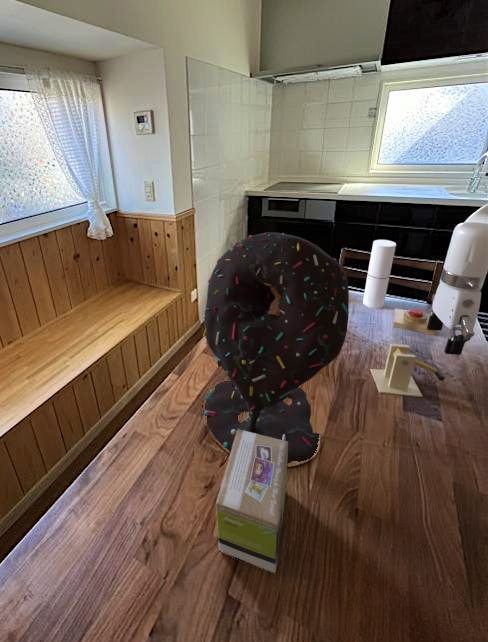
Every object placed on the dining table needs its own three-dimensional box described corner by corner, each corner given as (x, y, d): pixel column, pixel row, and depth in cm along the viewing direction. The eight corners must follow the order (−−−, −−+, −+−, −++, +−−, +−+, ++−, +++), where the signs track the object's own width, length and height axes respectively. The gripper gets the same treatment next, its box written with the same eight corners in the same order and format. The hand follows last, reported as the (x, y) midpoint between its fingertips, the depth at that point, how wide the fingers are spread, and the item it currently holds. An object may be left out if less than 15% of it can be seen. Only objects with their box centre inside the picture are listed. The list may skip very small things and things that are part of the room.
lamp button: (421, 313, 115) (422, 309, 115) (422, 318, 113) (423, 314, 112) (409, 311, 117) (410, 307, 116) (409, 316, 114) (410, 312, 114)
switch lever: (432, 369, 90) (438, 363, 89) (440, 382, 85) (447, 376, 84) (390, 350, 90) (396, 344, 89) (396, 363, 86) (403, 356, 85)
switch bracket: (408, 375, 94) (417, 341, 89) (421, 399, 86) (432, 363, 82) (369, 372, 97) (376, 338, 92) (378, 395, 89) (387, 359, 84)
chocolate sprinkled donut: (325, 491, 67) (358, 293, 49) (179, 439, 80) (162, 267, 62) (334, 389, 92) (358, 231, 73) (221, 361, 105) (217, 222, 86)
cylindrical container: (365, 307, 128) (376, 246, 117) (360, 298, 134) (371, 239, 124) (385, 309, 126) (398, 246, 116) (380, 299, 132) (392, 239, 122)
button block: (433, 320, 117) (436, 311, 116) (435, 336, 110) (438, 325, 108) (393, 313, 123) (395, 303, 121) (392, 327, 115) (395, 317, 114)
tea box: (237, 475, 71) (237, 425, 65) (286, 491, 68) (291, 439, 62) (217, 554, 59) (214, 501, 52) (276, 578, 55) (280, 525, 49)
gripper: (505, 297, 67) (480, 366, 74) (461, 263, 82) (443, 322, 89) (462, 295, 68) (441, 362, 75) (426, 262, 83) (411, 320, 91)
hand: (442, 341), depth 82 cm, fingers open, 9 cm apart
